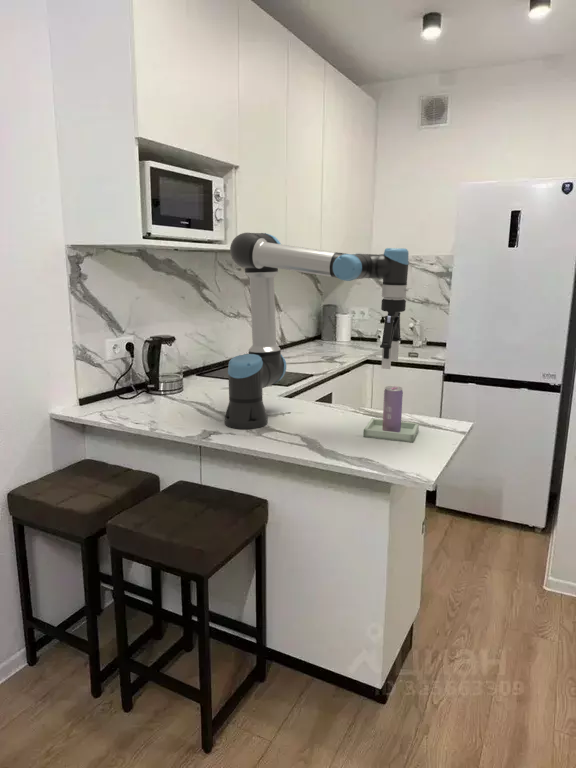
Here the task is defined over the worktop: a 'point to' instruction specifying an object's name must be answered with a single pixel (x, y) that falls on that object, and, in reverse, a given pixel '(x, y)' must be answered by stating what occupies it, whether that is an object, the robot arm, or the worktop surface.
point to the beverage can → (392, 409)
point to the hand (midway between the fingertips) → (389, 364)
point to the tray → (406, 433)
